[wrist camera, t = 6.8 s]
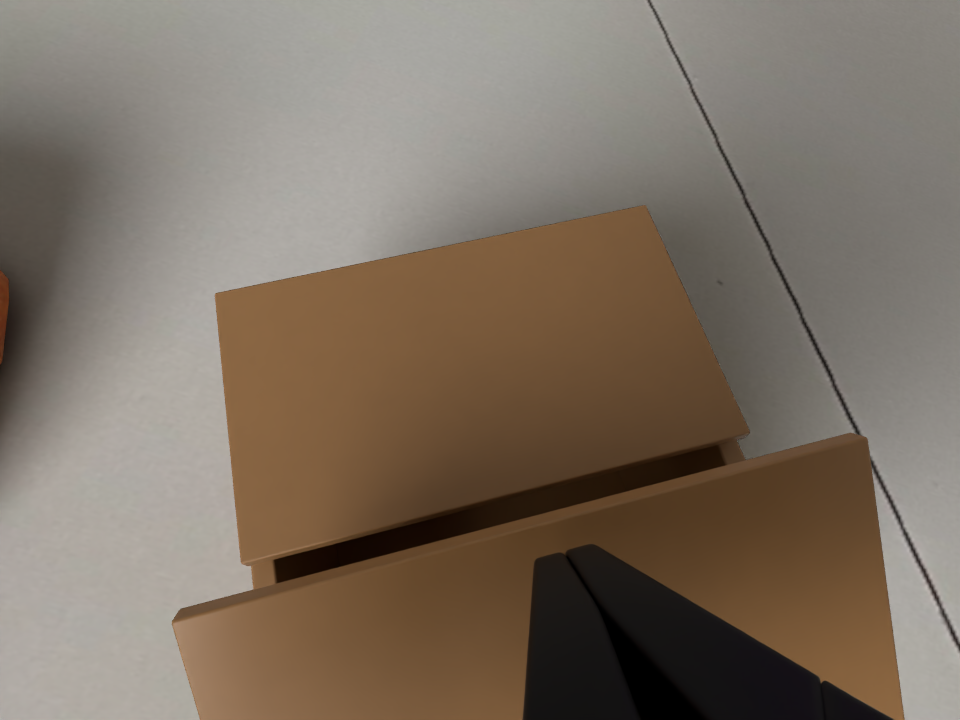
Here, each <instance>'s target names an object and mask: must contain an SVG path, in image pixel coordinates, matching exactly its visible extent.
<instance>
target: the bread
mask: <svg viewBox="0 0 960 720" xmlns="http://www.w3.org/2000/svg"><path fill="white" fill-rule="evenodd" d="M8 305H9V279H8V278H7V277H6V276H5V275H4V274H3V273H2V271H1V270H0V364H1V363H2V358H3V349H4V340H5V331H6V322H7V313H8Z"/></svg>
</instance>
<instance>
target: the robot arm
mask: <svg viewBox="0 0 960 720" xmlns="http://www.w3.org/2000/svg"><path fill="white" fill-rule="evenodd" d="M523 720H894V719H893V718H891V717H889V716H887V715H885V714H884V713H882V712H880V711H878V710H877V709H875V708H873V707H871V706H869V705H868V704H866V703H864V702H862V701H861V700H859V699H857V698H855V697H854V696H852V695H850V694H849V693H847V692H845V691H843V690H842V689H840V688H838V687H837V686H835V685H833V684H832V683H830V682H828V681H823V682H822V683H821V680H820V677H819V676H817V675H816V674H814V673H812V672H811V671H809V670H807V669H806V668H804V667H802V666H801V665H799V664H797V663H795V662H794V661H792V660H790V659H789V658H787V657H785V656H784V655H782V654H780V653H779V652H777V651H775V650H773V649H772V648H770V647H768V646H767V645H765V644H763V643H762V642H760V641H758V640H756V639H755V638H753V637H751V636H750V635H748V634H746V633H745V632H743V631H741V630H740V629H738V628H736V627H734V626H733V625H731V624H729V623H728V622H726V621H724V620H723V619H721V618H719V617H717V616H716V615H714V614H712V613H711V612H709V611H707V610H706V609H704V608H702V607H701V606H699V605H697V604H695V603H694V602H692V601H690V600H689V599H687V598H685V597H684V596H682V595H680V594H678V593H677V592H675V591H673V590H672V589H670V588H668V587H667V586H665V585H663V584H662V583H660V582H658V581H656V580H655V579H653V578H651V577H650V576H648V575H646V574H645V573H643V572H641V571H639V570H638V569H636V568H634V567H633V566H631V565H629V564H628V563H626V562H624V561H623V560H621V559H619V558H617V557H616V556H614V555H612V554H611V553H609V552H607V551H606V550H604V549H602V548H600V547H599V546H597V545H595V544H587V545H583V546H579V547H576V548H572V549H569V550H567V551H566V553H565V555H564V554H563V553H560V552H558V553H554V554H550V555H547V556H543V557H539V558H537V559H536V560H535V561H534V568H533V582H532V596H531V610H530V624H529V637H528V651H527V665H526V679H525V693H524V707H523Z"/></svg>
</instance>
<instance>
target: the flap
mask: <svg viewBox="0 0 960 720" xmlns="http://www.w3.org/2000/svg"><path fill="white" fill-rule="evenodd" d="M587 544H595V545H597V546H599V547H600V548H602V549H604V550H606V551H607V552H609V553H611V554H612V555H614V556H616V557H617V558H619V559H621V560H623V561H624V562H626V563H628V564H629V565H631V566H633V567H634V568H636V569H638V570H639V571H641V572H643V573H645V574H646V575H648V576H650V577H651V578H653V579H655V580H656V581H658V582H660V583H662V584H663V585H665V586H667V587H668V588H670V589H672V590H673V591H675V592H677V593H678V594H680V595H682V596H684V597H685V598H687V599H689V600H690V601H692V602H694V603H695V604H697V605H699V606H701V607H702V608H704V609H706V610H707V611H709V612H711V613H712V614H714V615H716V616H717V617H719V618H721V619H723V620H724V621H726V622H728V623H729V624H731V625H733V626H734V627H736V628H738V629H740V630H741V631H743V632H745V633H746V634H748V635H750V636H751V637H753V638H755V639H756V640H758V641H760V642H762V643H763V644H765V645H767V646H768V647H770V648H772V649H773V650H775V651H777V652H779V653H780V654H782V655H784V656H785V657H787V658H789V659H790V660H792V661H794V662H795V663H797V664H799V665H801V666H802V667H804V668H806V669H807V670H809V671H811V672H812V673H814V674H816V675H817V676H819V677H820V680H821V683H822V682H823V681H828V682H830V683H832V684H833V685H835V686H837V687H838V688H840V689H842V690H843V691H845V692H847V693H849V694H850V695H852V696H854V697H855V698H857V699H859V700H861V701H862V702H864V703H866V704H868V705H869V706H871V707H873V708H875V709H877V710H878V711H880V712H882V713H884V714H885V715H887V716H889V717H891V718H893V719H894V720H904V712H903V705H902V697H901V689H900V682H899V674H898V666H897V659H896V651H895V644H894V636H893V628H892V621H891V613H890V605H889V598H888V590H887V583H886V575H885V567H884V560H883V552H882V544H881V537H880V529H879V522H878V514H877V506H876V499H875V491H874V483H873V476H872V468H871V460H870V453H869V445H868V439H867V438H866V437H864V436H860V435H857V434H854V433H847V434H844V435H840V436H836V437H832V438H828V439H825V440H821V441H817V442H813V443H809V444H805V445H802V446H798V447H794V448H790V449H786V450H783V451H779V452H775V453H771V454H767V455H764V456H760V457H756V458H752V459H748V460H745V461H741V462H737V463H733V464H729V465H726V466H722V467H718V468H714V469H710V470H707V471H703V472H699V473H695V474H691V475H688V476H684V477H680V478H676V479H672V480H669V481H665V482H661V483H657V484H653V485H650V486H646V487H642V488H638V489H634V490H631V491H627V492H623V493H619V494H615V495H612V496H608V497H604V498H600V499H596V500H593V501H589V502H585V503H581V504H577V505H574V506H570V507H566V508H562V509H558V510H555V511H551V512H547V513H543V514H539V515H536V516H532V517H528V518H524V519H520V520H517V521H513V522H509V523H505V524H501V525H498V526H494V527H490V528H486V529H482V530H479V531H475V532H471V533H467V534H463V535H460V536H456V537H452V538H448V539H444V540H441V541H437V542H433V543H429V544H425V545H422V546H418V547H414V548H410V549H406V550H403V551H399V552H395V553H391V554H387V555H383V556H380V557H376V558H372V559H368V560H364V561H361V562H357V563H353V564H349V565H345V566H342V567H338V568H334V569H330V570H326V571H323V572H319V573H315V574H311V575H307V576H304V577H300V578H296V579H292V580H288V581H285V582H281V583H277V584H273V585H269V586H266V587H262V588H258V589H254V590H250V591H247V592H243V593H239V594H235V595H231V596H228V597H224V598H220V599H216V600H212V601H209V602H205V603H201V604H197V605H193V606H190V607H186V608H182V609H180V610H179V611H178V613H177V614H176V616H175V617H174V619H173V620H172V626H173V629H174V632H175V636H176V639H177V643H178V646H179V649H180V653H181V656H182V660H183V663H184V666H185V670H186V673H187V676H188V680H189V683H190V687H191V690H192V693H193V697H194V700H195V703H196V707H197V710H198V714H199V717H200V720H523V707H524V693H525V679H526V665H527V651H528V637H529V624H530V610H531V596H532V582H533V568H534V561H535V560H536V559H537V558H539V557H543V556H547V555H550V554H554V553H558V552H560V553H563V554H564V555H565V553H566V551H567V550H569V549H572V548H576V547H579V546H583V545H587Z"/></svg>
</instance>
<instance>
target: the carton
mask: <svg viewBox="0 0 960 720" xmlns="http://www.w3.org/2000/svg"><path fill="white" fill-rule="evenodd" d="M215 302H216V312H217V322H218V333H219V343H220V353H221V363H222V374H223V384H224V394H225V404H226V415H227V425H228V435H229V445H230V456H231V466H232V476H233V487H234V497H235V507H236V517H237V528H238V538H239V548H240V558H241V563H242V564H243V565H246V566H251V570H252V580H253V589H258V588H262V587H266V586H269V585H273V584H277V583H281V582H285V581H288V580H292V579H296V578H300V577H304V576H307V575H311V574H315V573H319V572H323V571H326V570H330V569H334V568H338V567H342V566H345V565H349V564H353V563H357V562H361V561H364V560H368V559H372V558H376V557H380V556H383V555H387V554H391V553H395V552H399V551H403V550H406V549H410V548H414V547H418V546H422V545H425V544H429V543H433V542H437V541H441V540H444V539H448V538H452V537H456V536H460V535H463V534H467V533H471V532H475V531H479V530H482V529H486V528H490V527H494V526H498V525H501V524H505V523H509V522H513V521H517V520H520V519H524V518H528V517H532V516H536V515H539V514H543V513H547V512H551V511H555V510H558V509H562V508H566V507H570V506H574V505H577V504H581V503H585V502H589V501H593V500H596V499H600V498H604V497H608V496H612V495H615V494H619V493H623V492H627V491H631V490H634V489H638V488H642V487H646V486H650V485H653V484H657V483H661V482H665V481H669V480H672V479H676V478H680V477H684V476H688V475H691V474H695V473H699V472H703V471H707V470H710V469H714V468H718V467H722V466H726V465H729V464H733V463H737V462H741V461H745V458H744V455H743V453H742V451H741V449H740V447H739V444H738V442H737V440H739V439H743V438H744V437H745V436H747V435H748V434H749V433H750V431H749V428H748V426H747V424H746V422H745V420H744V418H743V415H742V413H741V411H740V409H739V407H738V405H737V402H736V400H735V398H734V396H733V394H732V391H731V389H730V387H729V385H728V383H727V381H726V378H725V376H724V374H723V372H722V370H721V368H720V365H719V363H718V361H717V359H716V357H715V355H714V352H713V350H712V348H711V346H710V344H709V341H708V339H707V337H706V335H705V333H704V331H703V328H702V326H701V324H700V322H699V320H698V318H697V315H696V313H695V311H694V309H693V307H692V305H691V302H690V300H689V298H688V296H687V294H686V291H685V289H684V287H683V285H682V283H681V281H680V278H679V276H678V274H677V272H676V270H675V268H674V265H673V263H672V261H671V259H670V257H669V255H668V252H667V250H666V248H665V246H664V244H663V241H662V239H661V237H660V235H659V233H658V231H657V228H656V226H655V224H654V222H653V220H652V218H651V215H650V213H649V211H648V209H647V207H646V205H642V206H637V207H633V208H628V209H623V210H618V211H613V212H608V213H603V214H599V215H594V216H589V217H584V218H579V219H574V220H569V221H565V222H560V223H555V224H550V225H545V226H540V227H535V228H530V229H526V230H521V231H516V232H511V233H506V234H501V235H496V236H492V237H487V238H482V239H477V240H472V241H467V242H462V243H458V244H453V245H448V246H443V247H438V248H433V249H428V250H424V251H419V252H414V253H409V254H404V255H399V256H394V257H389V258H385V259H380V260H375V261H370V262H365V263H360V264H355V265H351V266H346V267H341V268H336V269H331V270H326V271H321V272H317V273H312V274H307V275H302V276H297V277H292V278H287V279H282V280H278V281H273V282H268V283H263V284H258V285H253V286H248V287H244V288H239V289H234V290H229V291H224V292H219V293H216V294H215Z"/></svg>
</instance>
